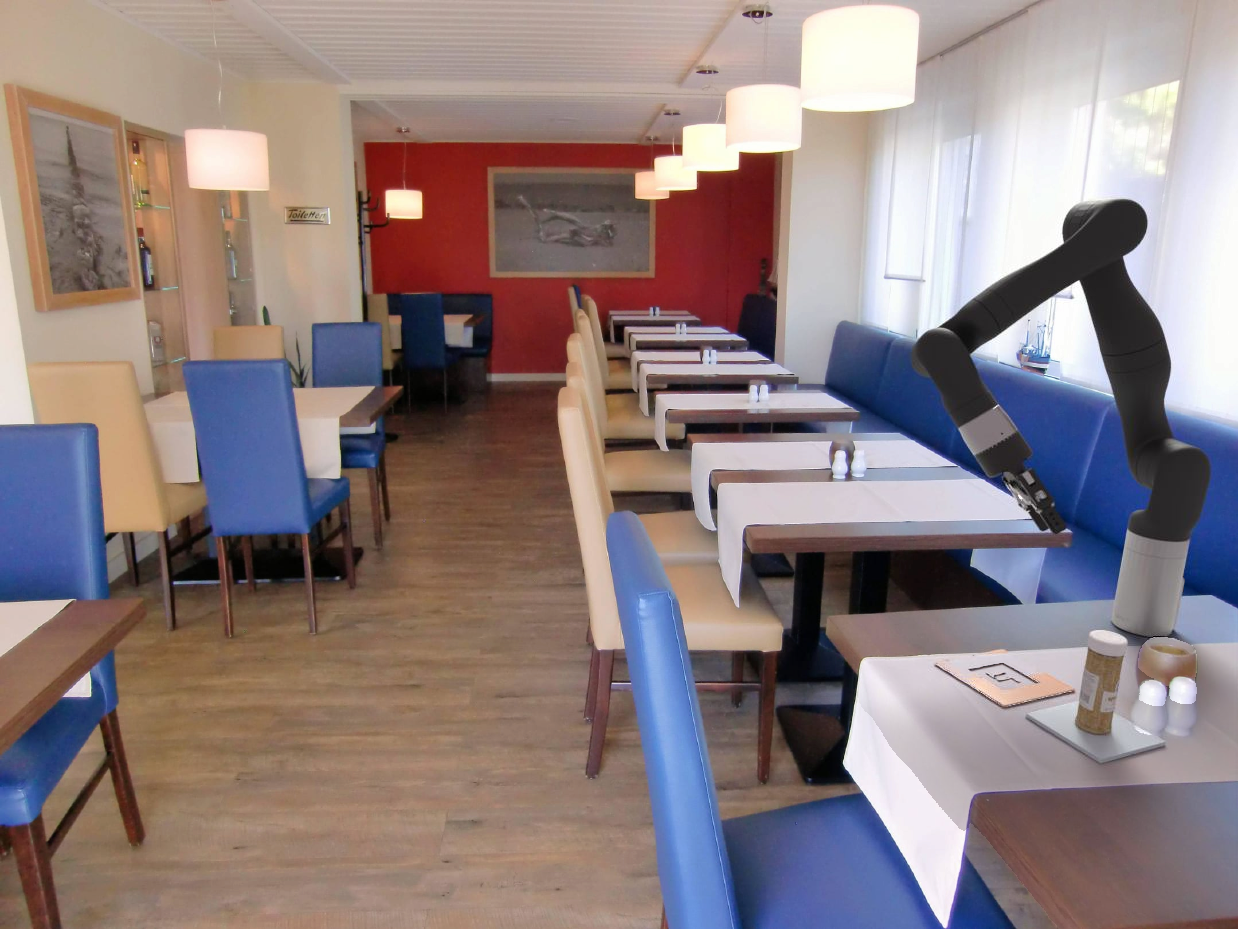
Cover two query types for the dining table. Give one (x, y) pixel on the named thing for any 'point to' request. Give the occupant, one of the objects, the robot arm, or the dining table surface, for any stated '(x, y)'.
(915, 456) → the dining table surface
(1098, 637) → the sprinkles bottle
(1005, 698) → the peach square frame
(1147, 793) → the dining table surface
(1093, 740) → the pad
